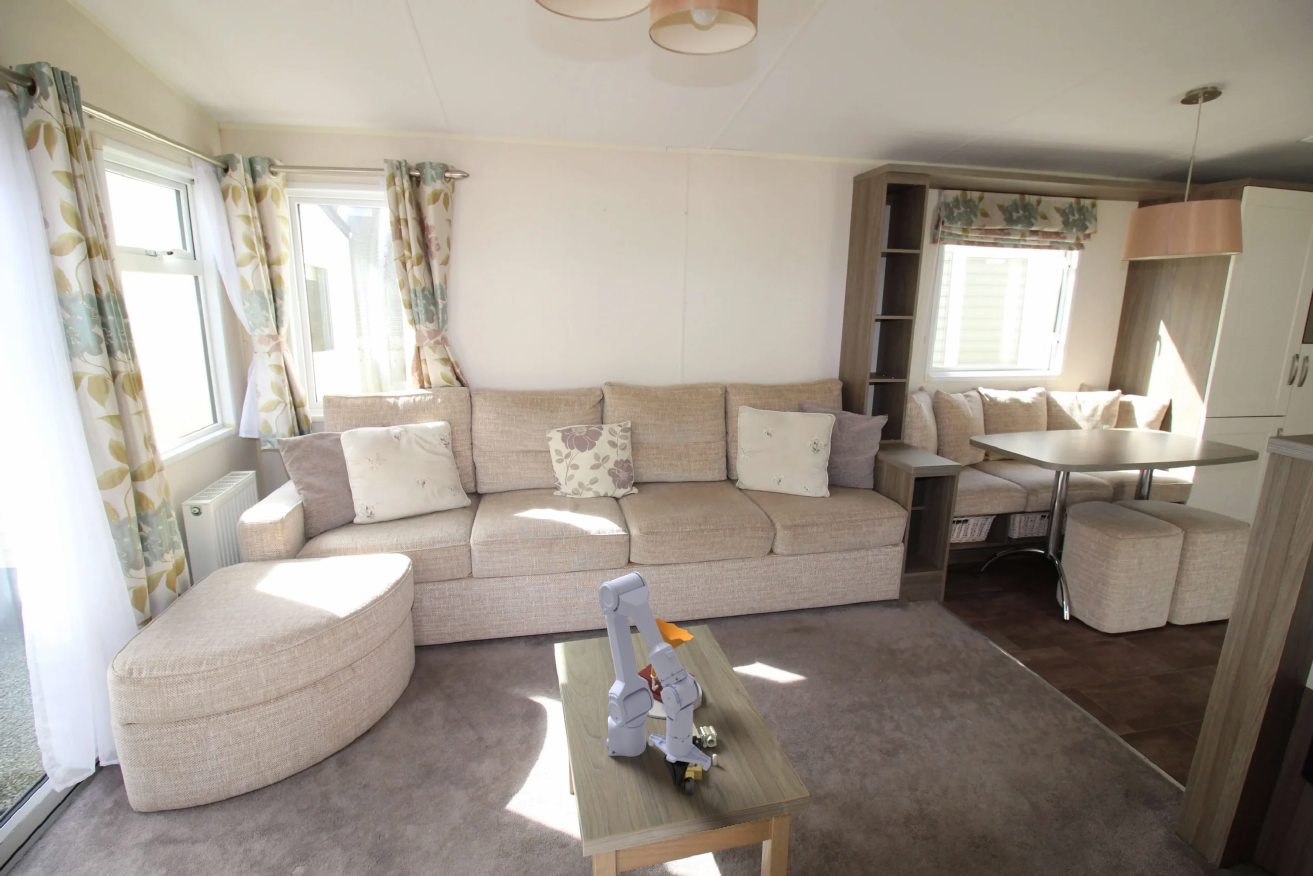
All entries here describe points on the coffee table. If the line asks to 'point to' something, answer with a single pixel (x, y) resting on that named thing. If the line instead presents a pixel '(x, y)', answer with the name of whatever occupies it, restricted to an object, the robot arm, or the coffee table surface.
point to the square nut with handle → (692, 778)
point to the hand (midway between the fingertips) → (678, 783)
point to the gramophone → (672, 637)
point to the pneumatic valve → (704, 737)
